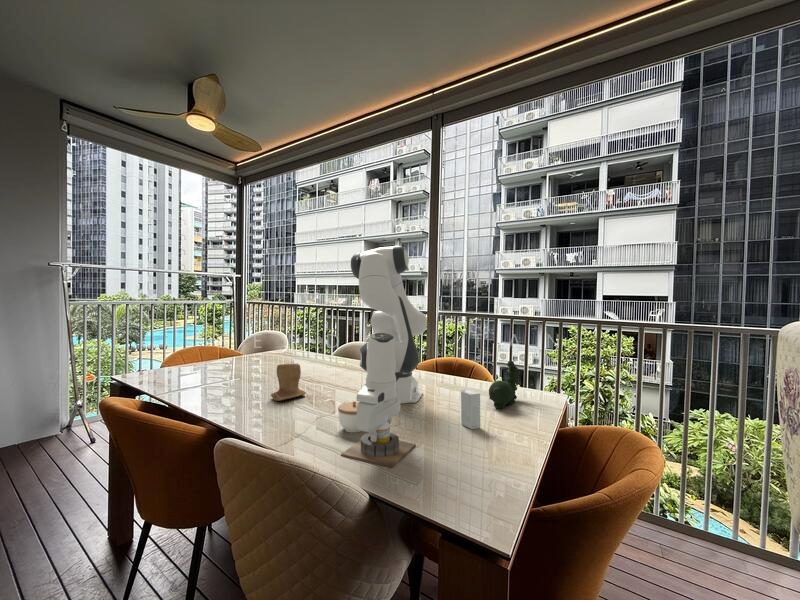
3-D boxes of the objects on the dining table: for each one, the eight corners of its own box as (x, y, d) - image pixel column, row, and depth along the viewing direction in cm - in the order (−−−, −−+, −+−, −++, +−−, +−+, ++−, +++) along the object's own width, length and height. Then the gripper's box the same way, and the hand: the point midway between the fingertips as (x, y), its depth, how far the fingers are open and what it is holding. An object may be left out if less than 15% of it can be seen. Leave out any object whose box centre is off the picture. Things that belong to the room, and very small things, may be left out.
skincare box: (480, 428, 129) (481, 393, 129) (470, 430, 127) (471, 394, 127) (470, 422, 135) (470, 389, 134) (459, 424, 133) (460, 390, 132)
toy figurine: (501, 400, 169) (481, 409, 148) (503, 358, 170) (484, 361, 149) (522, 404, 164) (505, 414, 143) (525, 361, 165) (507, 364, 144)
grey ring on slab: (369, 436, 120) (370, 425, 120) (415, 446, 113) (415, 434, 113) (341, 455, 105) (341, 442, 105) (391, 468, 98) (391, 454, 98)
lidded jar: (343, 437, 119) (344, 408, 118) (333, 426, 128) (334, 399, 128) (374, 432, 124) (375, 403, 123) (362, 422, 133) (363, 395, 133)
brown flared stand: (292, 391, 172) (293, 359, 171) (309, 396, 165) (310, 362, 164) (263, 398, 159) (263, 363, 159) (280, 404, 152) (280, 367, 152)
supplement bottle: (371, 444, 112) (371, 412, 111) (389, 444, 112) (389, 412, 112) (371, 452, 106) (371, 418, 106) (389, 452, 107) (390, 418, 106)
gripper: (387, 381, 119) (387, 423, 120) (352, 396, 101) (352, 447, 101) (405, 383, 117) (404, 427, 117) (373, 399, 98) (372, 451, 99)
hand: (380, 436), depth 109 cm, fingers closed on supplement bottle, 5 cm apart
